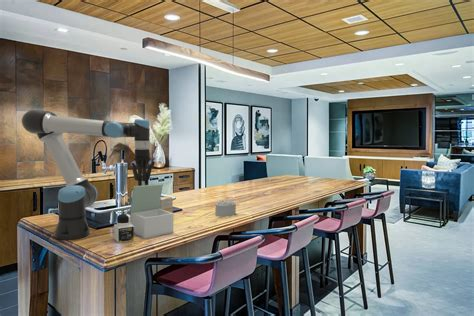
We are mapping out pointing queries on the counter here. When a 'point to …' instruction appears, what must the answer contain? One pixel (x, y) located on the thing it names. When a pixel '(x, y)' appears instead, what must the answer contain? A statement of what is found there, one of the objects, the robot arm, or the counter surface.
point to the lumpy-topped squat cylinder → (225, 208)
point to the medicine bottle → (123, 229)
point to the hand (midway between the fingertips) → (142, 193)
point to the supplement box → (166, 204)
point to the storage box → (152, 223)
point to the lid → (146, 197)
